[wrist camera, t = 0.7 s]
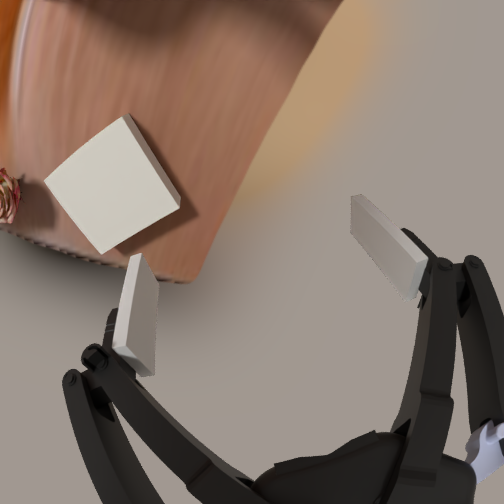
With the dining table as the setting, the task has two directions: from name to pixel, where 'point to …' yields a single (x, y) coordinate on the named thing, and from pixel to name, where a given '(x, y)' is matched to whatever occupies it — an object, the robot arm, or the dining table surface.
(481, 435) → the robot arm
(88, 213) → the block
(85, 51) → the dining table surface
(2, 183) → the flower
